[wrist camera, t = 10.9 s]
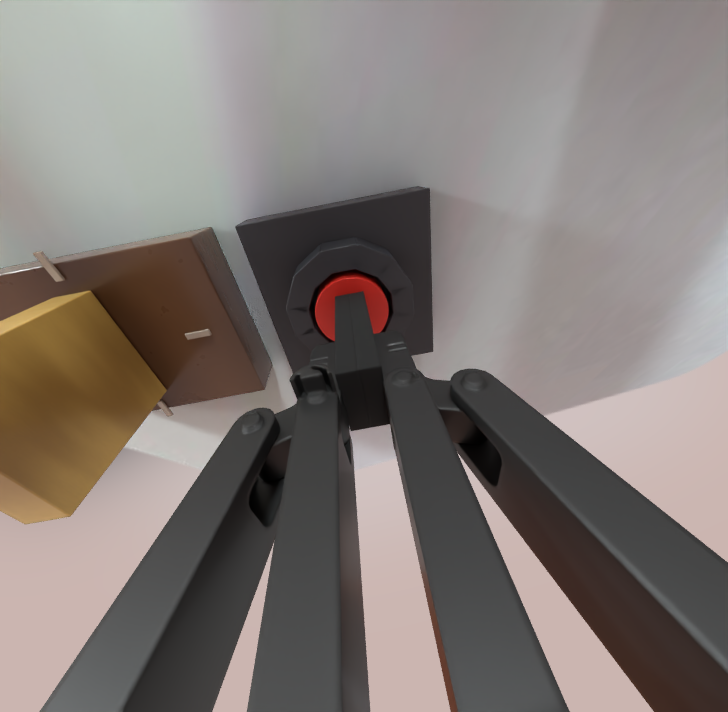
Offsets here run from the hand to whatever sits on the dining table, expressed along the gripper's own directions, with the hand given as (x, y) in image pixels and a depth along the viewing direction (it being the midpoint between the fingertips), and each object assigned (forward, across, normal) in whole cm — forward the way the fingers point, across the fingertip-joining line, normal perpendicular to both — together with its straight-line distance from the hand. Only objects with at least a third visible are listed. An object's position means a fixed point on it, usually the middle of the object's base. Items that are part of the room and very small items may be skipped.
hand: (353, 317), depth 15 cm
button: (+2, 0, 0) cm, 2 cm away
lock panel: (+5, +14, 0) cm, 15 cm away
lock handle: (+1, +14, 0) cm, 14 cm away
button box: (+5, 0, 0) cm, 5 cm away
